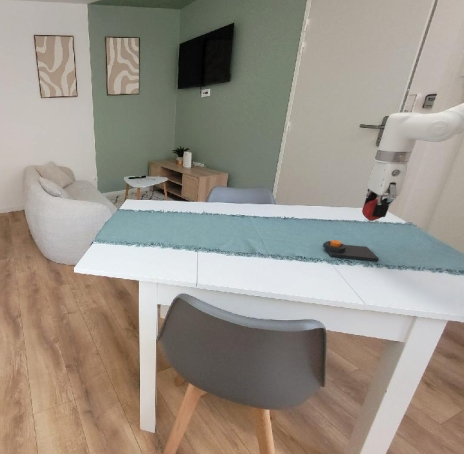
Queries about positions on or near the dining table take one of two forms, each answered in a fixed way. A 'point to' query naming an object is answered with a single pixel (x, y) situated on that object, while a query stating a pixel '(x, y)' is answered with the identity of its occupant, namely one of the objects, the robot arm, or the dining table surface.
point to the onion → (370, 210)
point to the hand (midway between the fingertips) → (373, 212)
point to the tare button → (335, 243)
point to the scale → (350, 252)
